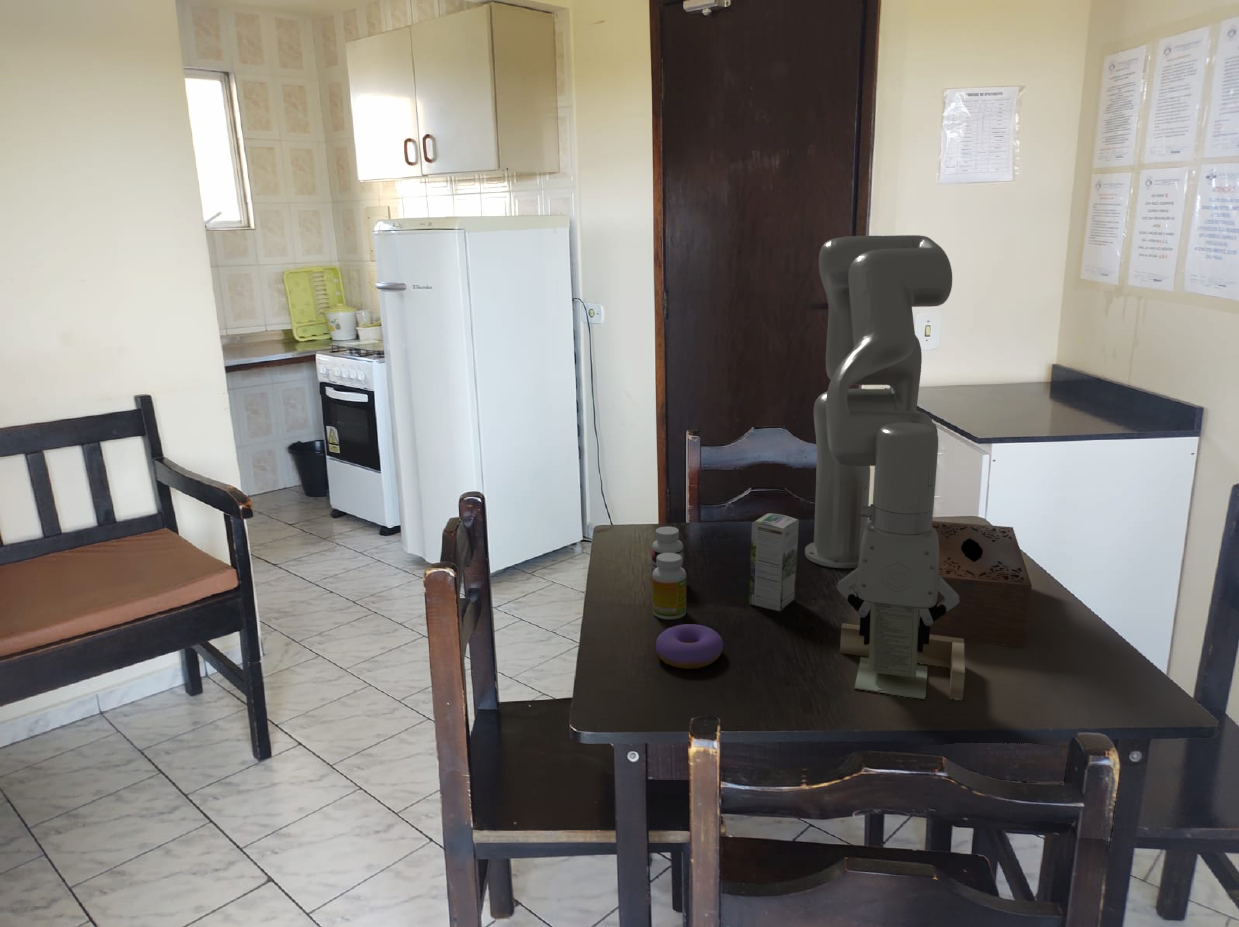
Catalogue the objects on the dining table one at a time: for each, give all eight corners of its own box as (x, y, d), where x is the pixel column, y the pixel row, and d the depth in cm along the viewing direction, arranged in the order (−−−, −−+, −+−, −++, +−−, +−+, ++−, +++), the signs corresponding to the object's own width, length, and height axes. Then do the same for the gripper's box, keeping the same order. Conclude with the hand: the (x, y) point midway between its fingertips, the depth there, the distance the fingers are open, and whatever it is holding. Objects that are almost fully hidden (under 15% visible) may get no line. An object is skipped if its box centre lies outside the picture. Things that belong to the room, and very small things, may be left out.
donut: (686, 678, 120) (681, 644, 120) (645, 666, 128) (640, 634, 127) (738, 657, 126) (734, 624, 125) (696, 646, 134) (692, 615, 133)
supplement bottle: (683, 621, 138) (683, 564, 136) (650, 619, 139) (649, 562, 137) (688, 607, 143) (688, 551, 141) (655, 605, 144) (655, 550, 142)
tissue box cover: (1024, 649, 127) (1031, 585, 125) (920, 637, 132) (924, 575, 129) (1007, 581, 151) (1012, 527, 148) (919, 573, 155) (922, 520, 153)
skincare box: (917, 664, 120) (923, 581, 117) (915, 679, 116) (922, 594, 113) (868, 657, 122) (873, 575, 119) (865, 671, 118) (870, 588, 115)
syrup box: (764, 592, 148) (765, 511, 144) (796, 600, 145) (799, 517, 141) (748, 604, 144) (750, 521, 140) (781, 613, 140) (784, 527, 137)
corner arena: (841, 648, 128) (842, 623, 127) (961, 664, 123) (963, 638, 122) (831, 686, 118) (832, 659, 117) (962, 706, 112) (965, 678, 111)
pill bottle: (646, 581, 154) (645, 529, 151) (669, 574, 157) (668, 522, 155) (665, 591, 150) (665, 537, 147) (689, 583, 153) (689, 530, 150)
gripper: (830, 521, 113) (824, 647, 118) (974, 534, 107) (962, 666, 112) (837, 504, 120) (831, 624, 125) (972, 515, 114) (961, 641, 119)
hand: (893, 643), depth 118 cm, fingers closed on skincare box, 6 cm apart
